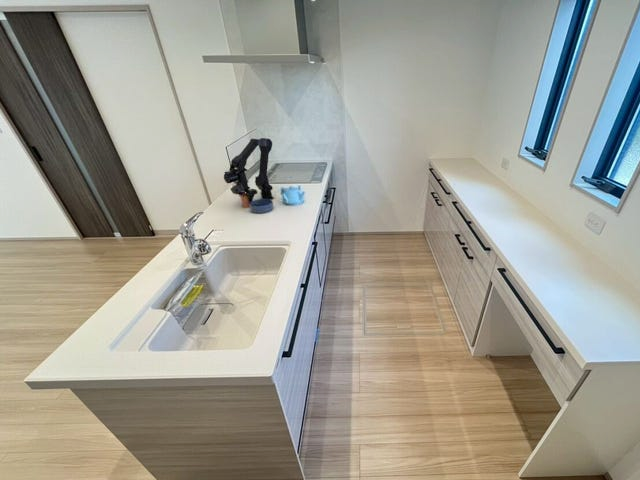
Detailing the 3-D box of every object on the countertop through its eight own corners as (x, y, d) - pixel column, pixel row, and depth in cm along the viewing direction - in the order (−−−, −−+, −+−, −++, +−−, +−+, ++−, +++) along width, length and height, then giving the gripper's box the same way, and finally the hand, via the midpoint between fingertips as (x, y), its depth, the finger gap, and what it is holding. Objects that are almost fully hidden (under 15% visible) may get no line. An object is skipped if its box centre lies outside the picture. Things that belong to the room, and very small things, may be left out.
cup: (251, 203, 209) (249, 192, 205) (254, 206, 204) (251, 194, 200) (242, 205, 206) (239, 194, 202) (244, 207, 201) (241, 196, 197)
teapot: (303, 197, 218) (301, 182, 212) (307, 204, 206) (305, 188, 200) (281, 200, 213) (278, 184, 208) (283, 207, 202) (281, 191, 196)
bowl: (270, 204, 206) (268, 197, 204) (276, 210, 196) (275, 203, 194) (248, 208, 200) (247, 201, 198) (254, 215, 190) (252, 208, 188)
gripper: (221, 180, 194) (228, 204, 203) (240, 185, 186) (246, 209, 194) (236, 176, 202) (242, 199, 211) (255, 180, 193) (260, 204, 202)
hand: (247, 203), depth 204 cm, fingers closed on cup, 6 cm apart
